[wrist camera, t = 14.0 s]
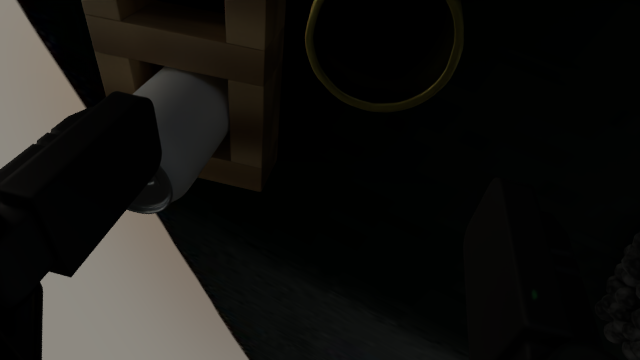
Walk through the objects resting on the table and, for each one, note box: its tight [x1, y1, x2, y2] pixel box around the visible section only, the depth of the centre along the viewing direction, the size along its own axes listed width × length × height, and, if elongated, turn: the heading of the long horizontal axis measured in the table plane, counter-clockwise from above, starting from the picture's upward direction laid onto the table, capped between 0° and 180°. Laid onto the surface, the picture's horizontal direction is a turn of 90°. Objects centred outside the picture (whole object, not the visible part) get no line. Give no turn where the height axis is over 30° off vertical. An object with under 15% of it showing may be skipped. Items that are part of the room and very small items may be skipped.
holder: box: [81, 0, 286, 192], centre depth 28 cm, size 22×12×4 cm, turn 173°
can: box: [127, 66, 230, 214], centre depth 29 cm, size 6×6×12 cm
